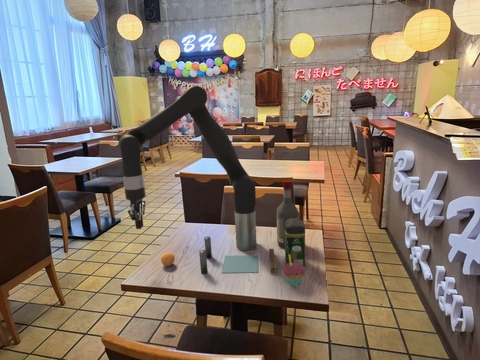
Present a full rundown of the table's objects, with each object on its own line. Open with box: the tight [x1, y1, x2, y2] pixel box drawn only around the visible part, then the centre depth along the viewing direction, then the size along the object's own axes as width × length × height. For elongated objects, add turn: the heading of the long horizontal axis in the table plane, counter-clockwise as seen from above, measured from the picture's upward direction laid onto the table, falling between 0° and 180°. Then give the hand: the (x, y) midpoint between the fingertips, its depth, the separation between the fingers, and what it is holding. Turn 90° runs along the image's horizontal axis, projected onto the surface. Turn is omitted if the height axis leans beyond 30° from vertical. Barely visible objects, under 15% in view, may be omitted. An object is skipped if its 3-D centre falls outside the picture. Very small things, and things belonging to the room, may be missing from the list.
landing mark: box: [221, 254, 259, 274], centre depth 130 cm, size 14×14×1 cm
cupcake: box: [281, 255, 307, 287], centre depth 114 cm, size 9×8×12 cm
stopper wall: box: [268, 248, 277, 275], centre depth 129 cm, size 2×16×2 cm, turn 177°
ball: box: [160, 251, 176, 267], centre depth 131 cm, size 6×6×6 cm
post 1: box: [198, 249, 208, 275], centre depth 124 cm, size 3×3×9 cm
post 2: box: [203, 236, 213, 260], centre depth 136 cm, size 3×3×9 cm
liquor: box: [276, 179, 300, 250], centre depth 142 cm, size 9×9×30 cm
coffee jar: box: [284, 217, 306, 268], centre depth 126 cm, size 10×8×19 cm
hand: (139, 227), depth 128 cm, fingers closed
